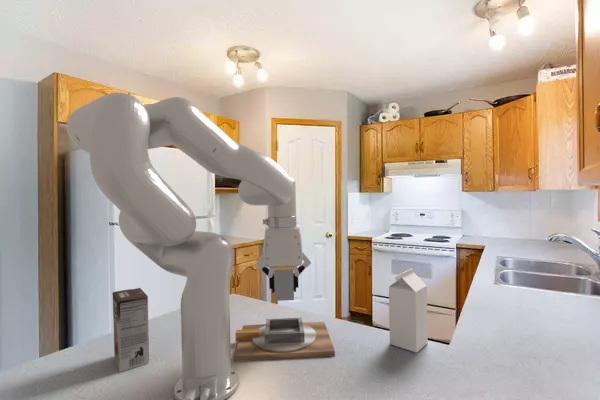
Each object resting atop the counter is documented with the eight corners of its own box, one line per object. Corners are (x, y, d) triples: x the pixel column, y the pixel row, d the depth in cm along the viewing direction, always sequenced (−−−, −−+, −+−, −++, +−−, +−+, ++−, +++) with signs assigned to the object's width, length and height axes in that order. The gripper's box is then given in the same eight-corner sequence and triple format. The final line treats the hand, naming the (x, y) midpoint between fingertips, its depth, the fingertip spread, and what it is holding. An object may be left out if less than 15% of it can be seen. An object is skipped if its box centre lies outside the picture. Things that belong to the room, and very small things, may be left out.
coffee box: (113, 357, 77) (111, 291, 77) (142, 349, 81) (140, 286, 81) (118, 373, 70) (117, 301, 69) (150, 363, 73) (148, 295, 73)
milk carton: (427, 343, 81) (426, 270, 81) (416, 353, 76) (415, 275, 76) (401, 335, 86) (400, 266, 86) (389, 344, 80) (388, 271, 80)
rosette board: (334, 355, 75) (334, 338, 75) (231, 361, 74) (230, 343, 74) (324, 325, 93) (324, 311, 93) (240, 329, 92) (240, 315, 92)
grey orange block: (293, 299, 81) (293, 265, 81) (274, 300, 81) (273, 266, 81) (293, 293, 86) (292, 261, 86) (275, 294, 86) (274, 262, 86)
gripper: (248, 225, 79) (250, 296, 79) (315, 223, 80) (317, 293, 80) (251, 222, 87) (253, 288, 87) (312, 221, 88) (314, 285, 88)
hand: (284, 290), depth 84 cm, fingers closed on grey orange block, 5 cm apart
